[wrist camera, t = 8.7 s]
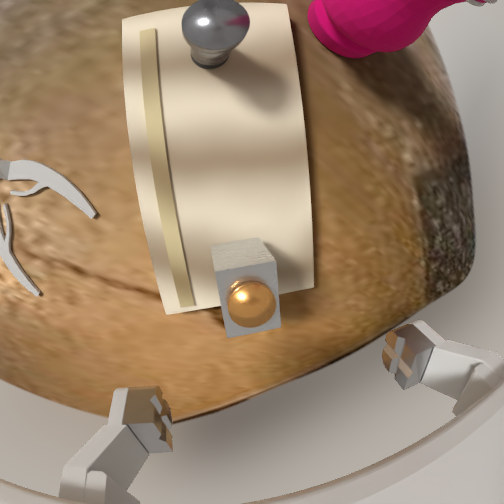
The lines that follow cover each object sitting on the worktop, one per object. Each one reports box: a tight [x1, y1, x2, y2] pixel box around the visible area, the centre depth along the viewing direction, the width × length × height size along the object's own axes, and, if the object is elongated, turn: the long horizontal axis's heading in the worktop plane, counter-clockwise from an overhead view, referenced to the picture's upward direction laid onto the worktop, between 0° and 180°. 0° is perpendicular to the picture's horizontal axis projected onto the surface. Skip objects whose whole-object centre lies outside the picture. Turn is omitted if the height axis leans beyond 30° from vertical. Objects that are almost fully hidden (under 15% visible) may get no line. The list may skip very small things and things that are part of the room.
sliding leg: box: [210, 237, 281, 338], centre depth 16 cm, size 4×3×5 cm
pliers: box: [0, 158, 97, 296], centre depth 15 cm, size 10×2×15 cm
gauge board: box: [122, 3, 314, 315], centre depth 17 cm, size 21×11×2 cm, turn 6°
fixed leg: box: [181, 0, 250, 66], centre depth 12 cm, size 3×3×5 cm
